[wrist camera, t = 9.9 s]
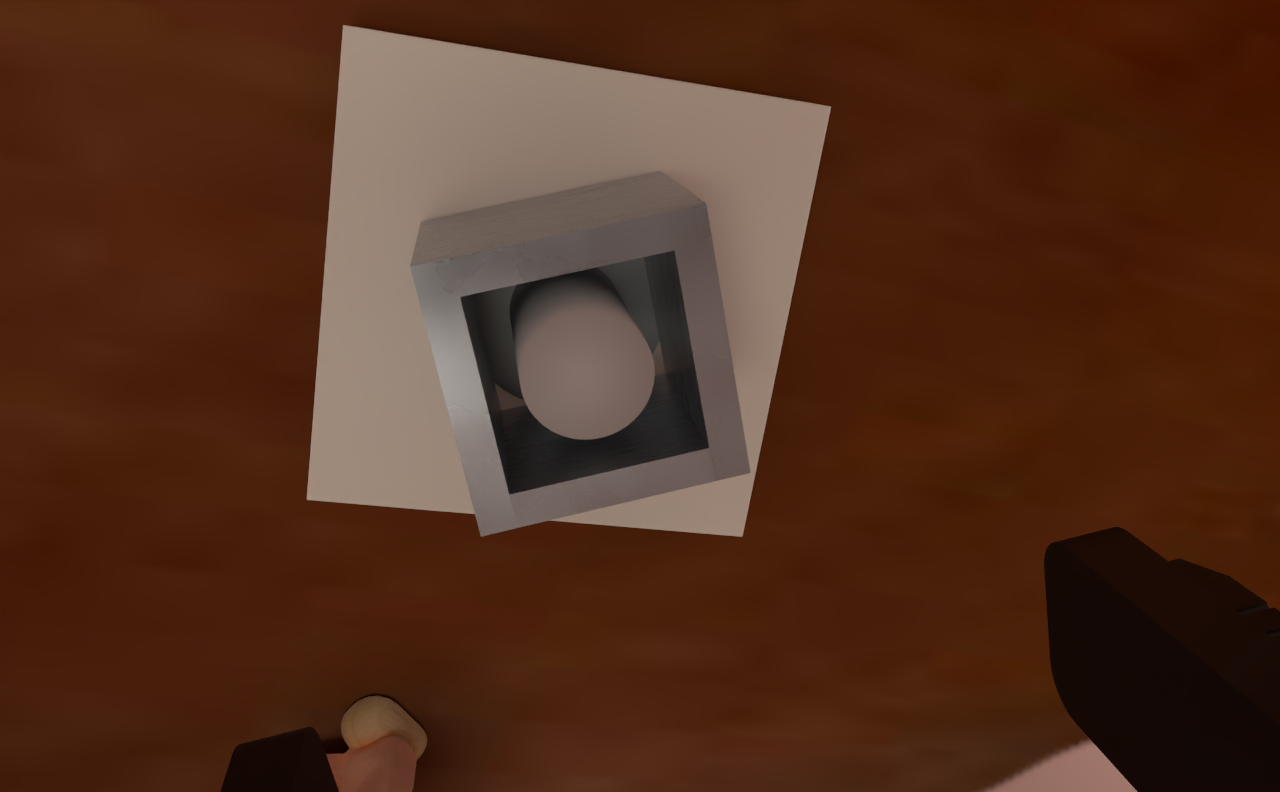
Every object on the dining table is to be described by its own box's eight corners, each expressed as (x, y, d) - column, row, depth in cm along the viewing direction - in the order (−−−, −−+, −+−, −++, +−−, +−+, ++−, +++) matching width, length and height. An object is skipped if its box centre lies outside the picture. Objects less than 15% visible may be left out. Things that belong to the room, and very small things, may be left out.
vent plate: (316, 471, 30) (267, 614, 23) (351, 25, 27) (307, 22, 19) (726, 507, 33) (804, 648, 25) (808, 102, 29) (925, 125, 22)
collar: (420, 221, 26) (409, 266, 21) (660, 170, 27) (706, 203, 22) (478, 445, 28) (480, 536, 23) (699, 394, 29) (750, 473, 24)
